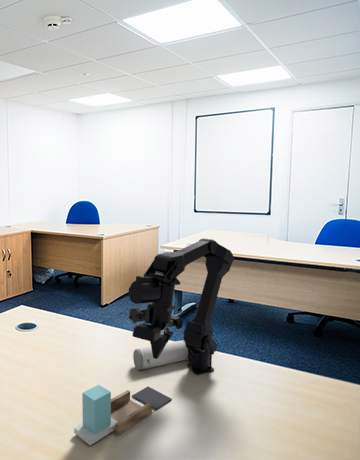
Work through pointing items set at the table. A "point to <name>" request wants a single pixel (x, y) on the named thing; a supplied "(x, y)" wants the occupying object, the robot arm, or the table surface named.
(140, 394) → the dark gray rectangular plate
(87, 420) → the blue pillar on plinth
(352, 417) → the table surface
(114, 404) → the track
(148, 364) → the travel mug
